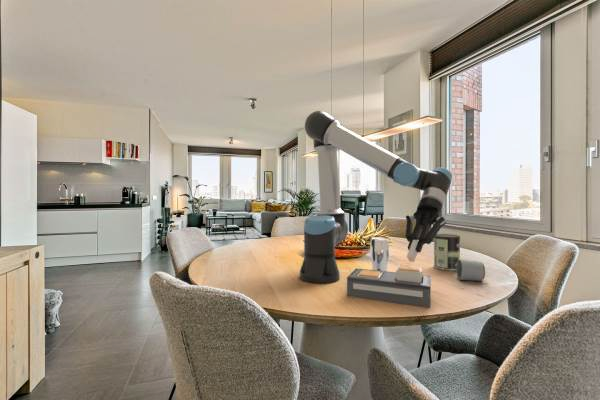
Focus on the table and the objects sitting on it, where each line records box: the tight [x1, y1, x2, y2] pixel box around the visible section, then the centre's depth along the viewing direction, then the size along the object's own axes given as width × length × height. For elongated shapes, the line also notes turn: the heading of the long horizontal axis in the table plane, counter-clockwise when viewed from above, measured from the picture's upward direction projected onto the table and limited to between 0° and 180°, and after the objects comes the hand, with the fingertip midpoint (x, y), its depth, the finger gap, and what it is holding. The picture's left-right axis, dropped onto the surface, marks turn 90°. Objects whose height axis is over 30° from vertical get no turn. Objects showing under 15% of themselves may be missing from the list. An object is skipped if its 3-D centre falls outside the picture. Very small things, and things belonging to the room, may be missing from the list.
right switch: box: [395, 263, 423, 283], centre depth 94 cm, size 7×7×4 cm
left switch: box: [357, 269, 383, 279], centre depth 99 cm, size 7×7×4 cm
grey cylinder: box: [455, 258, 486, 282], centre depth 115 cm, size 11×8×8 cm
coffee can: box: [433, 233, 461, 272], centre depth 132 cm, size 10×10×14 cm
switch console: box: [346, 268, 432, 308], centre depth 96 cm, size 24×12×6 cm, turn 66°
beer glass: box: [369, 237, 390, 272], centre depth 116 cm, size 7×7×15 cm
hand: (410, 259), depth 94 cm, fingers closed
